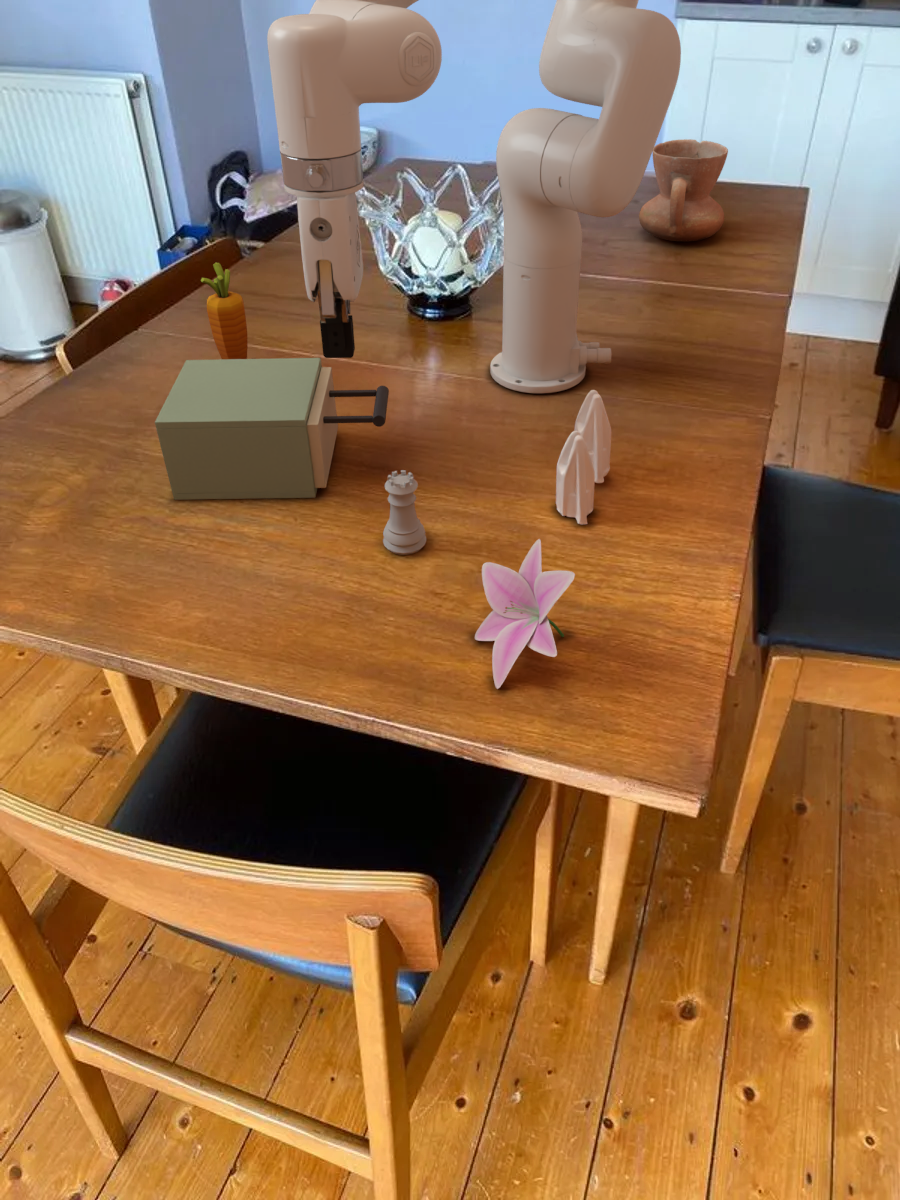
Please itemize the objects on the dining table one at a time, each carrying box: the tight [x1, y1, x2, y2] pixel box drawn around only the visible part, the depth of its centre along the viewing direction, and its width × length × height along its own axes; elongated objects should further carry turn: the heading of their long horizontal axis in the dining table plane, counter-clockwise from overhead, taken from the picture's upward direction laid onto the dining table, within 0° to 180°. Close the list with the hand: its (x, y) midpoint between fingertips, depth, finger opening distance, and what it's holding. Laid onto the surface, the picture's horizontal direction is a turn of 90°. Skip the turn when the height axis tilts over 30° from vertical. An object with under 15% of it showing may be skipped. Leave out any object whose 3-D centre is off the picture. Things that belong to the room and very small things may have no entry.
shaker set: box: [555, 389, 612, 526], centre depth 99 cm, size 12×4×11 cm, turn 159°
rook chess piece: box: [382, 469, 427, 556], centre depth 93 cm, size 4×4×8 cm
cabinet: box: [154, 357, 323, 501], centre depth 105 cm, size 16×15×10 cm
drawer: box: [307, 366, 390, 489], centre depth 105 cm, size 21×13×8 cm, turn 90°
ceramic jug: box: [638, 138, 729, 243], centre depth 159 cm, size 18×14×14 cm
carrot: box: [200, 262, 249, 359], centre depth 120 cm, size 5×5×15 cm
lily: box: [474, 538, 576, 690], centre depth 81 cm, size 12×12×10 cm
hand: (339, 354), depth 99 cm, fingers closed
